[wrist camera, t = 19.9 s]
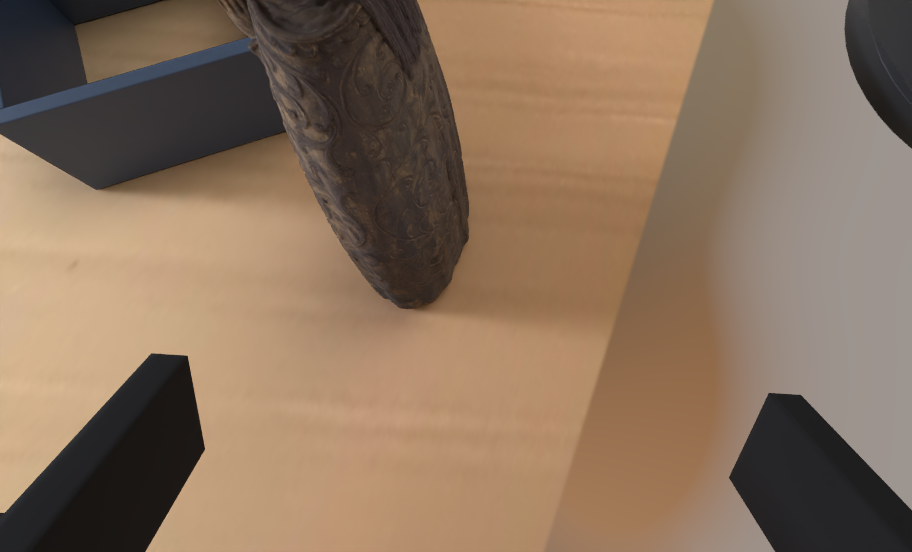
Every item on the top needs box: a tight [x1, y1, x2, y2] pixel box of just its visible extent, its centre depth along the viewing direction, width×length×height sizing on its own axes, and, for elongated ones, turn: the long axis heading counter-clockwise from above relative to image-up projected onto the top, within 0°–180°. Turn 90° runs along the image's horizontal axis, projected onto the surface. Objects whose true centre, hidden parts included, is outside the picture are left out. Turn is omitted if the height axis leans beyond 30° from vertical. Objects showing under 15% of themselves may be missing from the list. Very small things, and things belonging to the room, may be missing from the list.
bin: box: [0, 0, 286, 190], centre depth 28 cm, size 13×14×7 cm
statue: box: [217, 0, 469, 309], centre depth 16 cm, size 9×8×25 cm
